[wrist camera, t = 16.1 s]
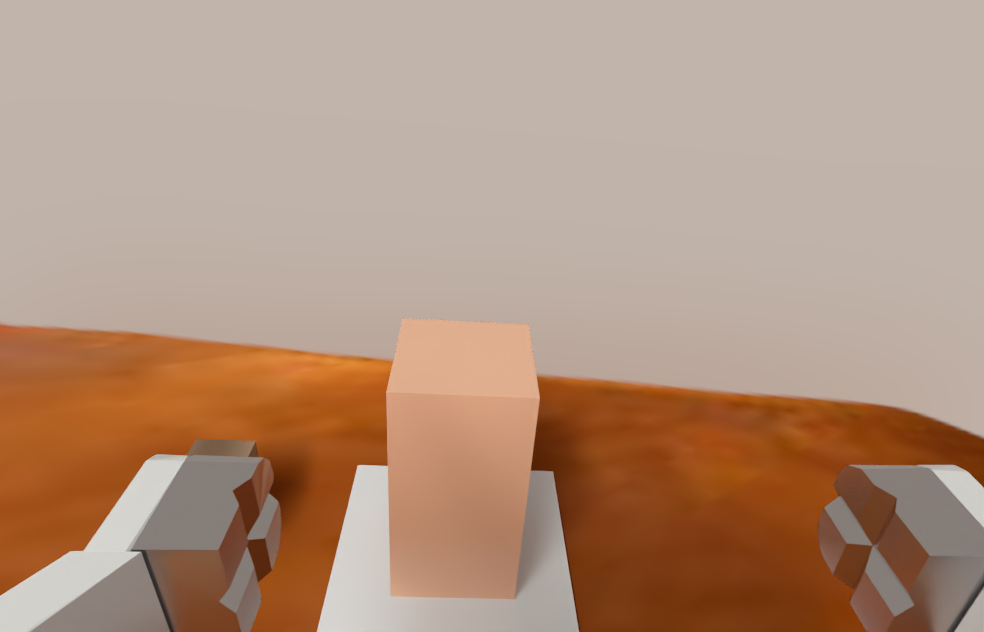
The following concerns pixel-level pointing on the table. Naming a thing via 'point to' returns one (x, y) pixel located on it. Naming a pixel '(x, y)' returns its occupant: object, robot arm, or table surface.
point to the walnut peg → (224, 448)
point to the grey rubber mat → (436, 620)
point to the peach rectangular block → (459, 457)
